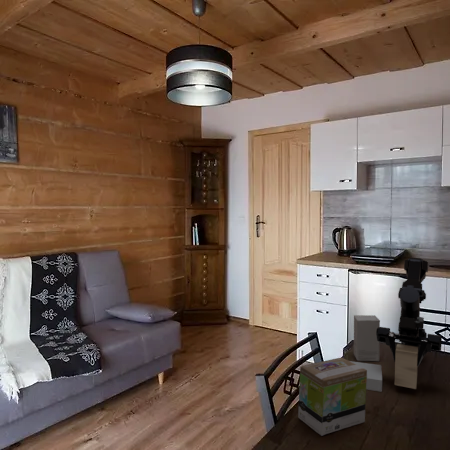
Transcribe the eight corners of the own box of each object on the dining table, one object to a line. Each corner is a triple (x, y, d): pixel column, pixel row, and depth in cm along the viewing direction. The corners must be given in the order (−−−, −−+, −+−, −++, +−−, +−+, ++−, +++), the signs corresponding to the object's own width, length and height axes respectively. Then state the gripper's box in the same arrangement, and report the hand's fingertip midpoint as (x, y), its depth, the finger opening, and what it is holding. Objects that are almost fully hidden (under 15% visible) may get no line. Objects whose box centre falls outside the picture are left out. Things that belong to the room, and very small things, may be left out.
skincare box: (375, 355, 152) (376, 315, 151) (380, 362, 146) (381, 320, 145) (352, 354, 153) (353, 314, 152) (356, 361, 147) (357, 319, 146)
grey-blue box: (343, 371, 139) (344, 360, 138) (381, 376, 135) (381, 365, 134) (341, 386, 127) (341, 374, 127) (381, 393, 123) (382, 380, 123)
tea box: (322, 438, 99) (323, 380, 98) (297, 418, 108) (298, 365, 107) (366, 422, 106) (367, 368, 105) (339, 405, 115) (340, 355, 114)
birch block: (396, 377, 129) (397, 343, 128) (417, 381, 126) (418, 347, 125) (394, 384, 123) (395, 350, 123) (416, 389, 121) (417, 353, 120)
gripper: (377, 302, 131) (371, 346, 122) (442, 310, 122) (441, 358, 113) (380, 319, 138) (374, 362, 129) (441, 327, 130) (440, 374, 121)
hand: (406, 363), depth 123 cm, fingers closed on birch block, 6 cm apart
